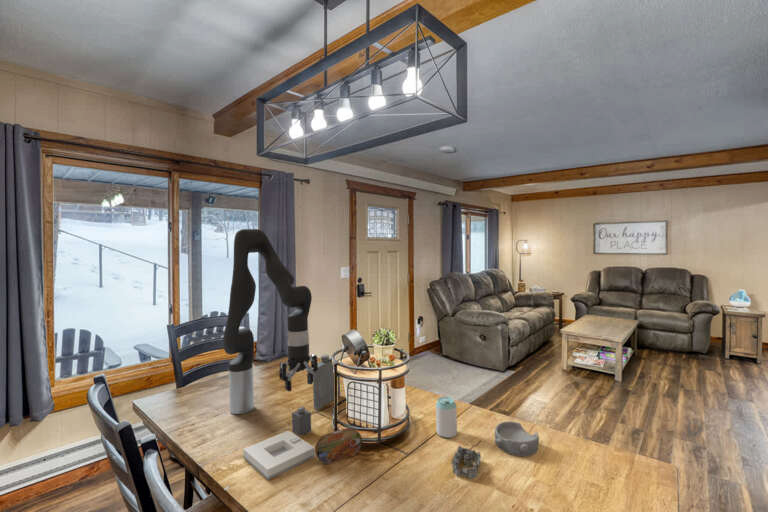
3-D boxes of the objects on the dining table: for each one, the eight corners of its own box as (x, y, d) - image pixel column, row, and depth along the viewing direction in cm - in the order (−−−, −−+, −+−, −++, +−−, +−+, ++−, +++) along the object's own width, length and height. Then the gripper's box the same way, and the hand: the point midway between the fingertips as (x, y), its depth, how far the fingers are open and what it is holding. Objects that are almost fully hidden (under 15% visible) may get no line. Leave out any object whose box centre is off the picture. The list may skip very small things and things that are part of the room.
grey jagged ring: (475, 482, 105) (475, 468, 105) (449, 475, 108) (449, 461, 108) (483, 461, 115) (482, 448, 114) (458, 456, 118) (458, 443, 118)
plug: (292, 431, 135) (291, 408, 135) (304, 427, 139) (303, 404, 138) (299, 436, 132) (298, 412, 132) (311, 431, 135) (310, 408, 135)
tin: (317, 467, 113) (316, 440, 113) (314, 462, 116) (313, 435, 116) (362, 453, 120) (362, 427, 120) (358, 449, 123) (358, 423, 123)
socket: (243, 458, 119) (243, 447, 119) (288, 438, 130) (288, 428, 130) (267, 480, 108) (267, 467, 108) (314, 456, 119) (314, 445, 119)
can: (460, 433, 131) (460, 399, 131) (449, 441, 126) (449, 406, 126) (443, 426, 136) (443, 394, 136) (432, 434, 131) (431, 400, 131)
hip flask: (318, 410, 152) (316, 361, 151) (310, 408, 154) (308, 360, 153) (341, 396, 166) (340, 351, 165) (334, 394, 168) (333, 350, 167)
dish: (506, 431, 133) (506, 417, 132) (546, 445, 123) (546, 430, 122) (485, 447, 122) (485, 432, 122) (526, 464, 113) (526, 448, 112)
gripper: (309, 336, 141) (310, 379, 142) (274, 344, 131) (276, 390, 132) (321, 340, 136) (322, 384, 136) (285, 348, 126) (287, 396, 127)
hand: (299, 387), depth 134 cm, fingers open, 8 cm apart
